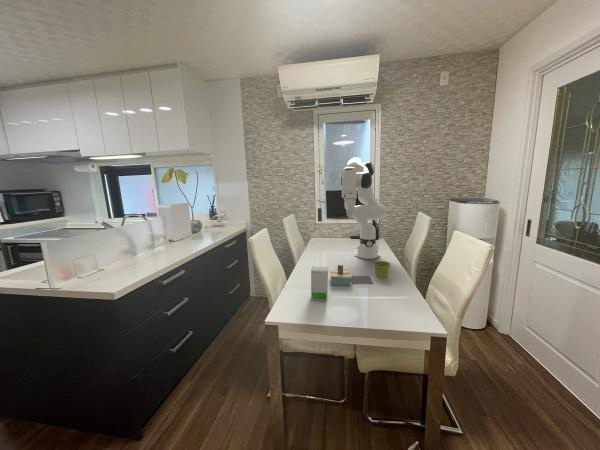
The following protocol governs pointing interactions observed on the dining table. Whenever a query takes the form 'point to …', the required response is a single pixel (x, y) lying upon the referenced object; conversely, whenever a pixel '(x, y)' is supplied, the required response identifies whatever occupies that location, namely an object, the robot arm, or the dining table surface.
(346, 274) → the lid
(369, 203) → the robot arm
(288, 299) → the dining table surface
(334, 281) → the teal open box
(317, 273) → the skincare box
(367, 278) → the mat
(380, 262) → the plant pot
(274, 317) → the dining table surface
